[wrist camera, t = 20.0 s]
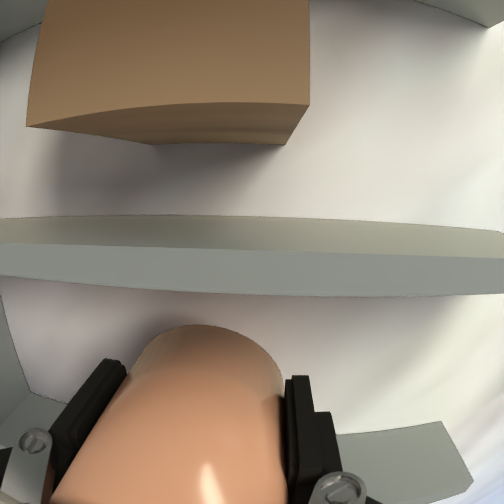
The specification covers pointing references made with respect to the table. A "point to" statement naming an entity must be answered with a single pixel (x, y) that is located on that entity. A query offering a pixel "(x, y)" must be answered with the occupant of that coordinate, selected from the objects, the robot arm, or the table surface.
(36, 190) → the table surface
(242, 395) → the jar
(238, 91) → the walnut block
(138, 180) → the table surface
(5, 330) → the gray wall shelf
